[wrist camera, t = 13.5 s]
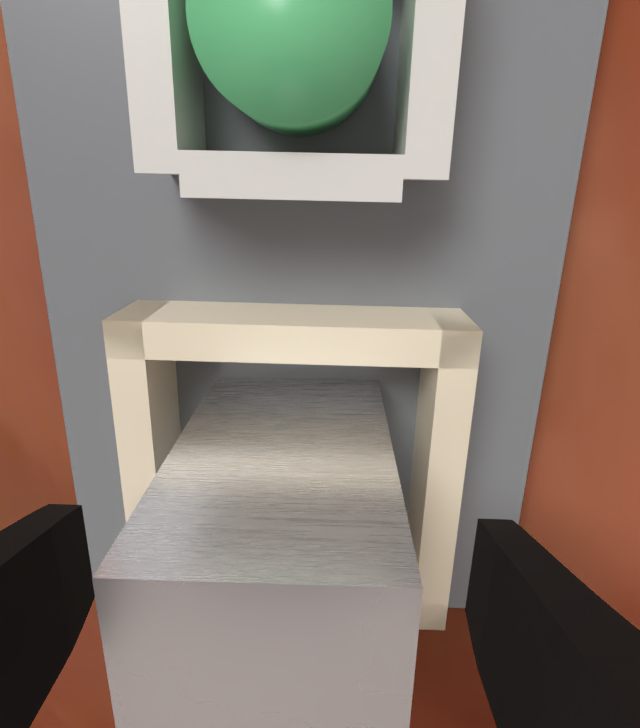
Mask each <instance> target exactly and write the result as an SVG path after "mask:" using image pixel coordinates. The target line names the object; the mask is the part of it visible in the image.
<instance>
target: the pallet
mask: <svg viewBox="0 0 640 728" xmlns="http://www.w3.org/2000/svg"><path fill="white" fill-rule="evenodd" d="M608 2H609V0H392V21H391V29H390V34H389V38H388V42H387V45H386V48H385V51H384V54H383V57H382V60H381V62H380V65H379V68H378V70H377V73H376V76H375V78H374V81H373V84H372V86H371V88H370V90H369V92H368V94H367V96H366V97H365V99H364V100H363V102H362V103H361V105H360V106H359V107H358V108H357V110H356V111H355V112H354V113H353V114H352V115H351V116H350V117H349V118H348V119H346V120H345V121H344V122H342V123H341V124H339V125H338V126H336V127H334V128H332V129H330V130H329V131H326V132H323V133H320V134H316V135H311V136H300V137H297V136H288V135H283V134H279V133H276V132H274V131H271V130H269V129H267V128H265V127H263V126H262V125H260V124H258V123H257V122H256V121H254V120H253V119H252V118H250V117H249V116H248V115H246V114H245V113H244V112H242V111H241V110H240V109H239V108H237V107H236V106H235V105H233V104H232V103H231V102H229V101H228V100H227V99H226V98H225V97H224V96H223V95H222V94H221V93H220V92H219V91H218V90H217V89H216V87H215V86H214V85H213V84H212V82H211V81H210V80H209V78H208V77H207V75H206V73H205V72H204V70H203V69H202V67H201V65H200V63H199V61H198V58H197V56H196V54H195V51H194V48H193V45H192V43H191V39H190V35H189V31H188V26H187V18H186V0H0V3H1V9H2V16H3V22H4V29H5V36H6V42H7V49H8V55H9V62H10V68H11V75H12V81H13V88H14V94H15V101H16V107H17V114H18V120H19V127H20V134H21V140H22V147H23V153H24V160H25V166H26V173H27V179H28V186H29V192H30V199H31V205H32V212H33V218H34V225H35V232H36V238H37V245H38V251H39V258H40V264H41V271H42V277H43V284H44V290H45V297H46V303H47V310H48V317H49V323H50V330H51V336H52V343H53V349H54V356H55V362H56V369H57V375H58V382H59V388H60V395H61V401H62V408H63V415H64V421H65V428H66V434H67V441H68V447H69V454H70V460H71V467H72V473H73V480H74V486H75V493H76V499H77V505H82V510H83V517H84V523H85V530H86V537H87V543H88V550H89V557H90V563H91V570H92V577H93V576H94V574H95V572H96V571H97V569H98V567H99V566H100V564H101V563H102V561H103V559H104V558H105V556H106V555H107V553H108V551H109V550H110V548H111V546H112V545H113V543H114V542H115V540H116V538H117V537H118V535H119V533H120V532H121V530H122V529H123V527H124V525H125V524H126V522H127V520H128V519H129V517H130V516H131V514H132V512H133V511H134V509H135V507H136V506H137V504H138V503H139V501H140V499H141V498H142V496H143V494H144V493H145V491H146V490H147V488H148V486H149V485H150V483H151V482H152V480H153V478H154V477H155V475H156V473H157V472H158V470H159V469H160V467H161V465H162V464H163V462H164V460H165V459H166V457H167V456H168V454H169V452H170V451H171V449H172V447H173V446H174V444H175V443H176V441H177V439H178V438H179V436H180V434H181V433H182V431H183V430H184V428H185V426H186V425H187V423H188V421H189V420H190V418H191V417H192V415H193V413H194V412H195V410H196V408H197V407H198V405H199V404H200V402H201V400H202V399H203V397H204V396H205V394H206V392H207V391H208V389H209V387H210V386H211V384H212V383H213V381H214V379H215V378H216V376H222V377H265V378H308V379H351V380H378V382H379V386H380V391H381V396H382V400H383V405H384V410H385V414H386V419H387V424H388V428H389V433H390V438H391V442H392V447H393V452H394V456H395V461H396V466H397V470H398V475H399V480H400V484H401V489H402V494H403V498H404V503H405V508H406V512H407V517H408V522H409V526H410V531H411V536H412V540H413V545H414V550H415V554H416V559H417V564H418V568H419V573H420V578H421V582H422V587H423V593H422V603H421V613H420V624H419V629H421V630H445V626H446V618H447V610H448V608H465V606H466V599H467V592H468V585H469V578H470V571H471V564H472V557H473V550H474V543H475V536H476V529H477V522H478V518H479V519H508V520H513V521H514V522H516V523H517V524H519V518H520V513H521V507H522V501H523V495H524V489H525V484H526V478H527V472H528V466H529V460H530V455H531V449H532V443H533V437H534V431H535V426H536V420H537V414H538V408H539V403H540V397H541V391H542V385H543V379H544V374H545V368H546V362H547V356H548V350H549V345H550V339H551V333H552V327H553V321H554V316H555V310H556V304H557V298H558V292H559V287H560V281H561V275H562V269H563V263H564V258H565V252H566V246H567V240H568V234H569V229H570V223H571V217H572V211H573V205H574V200H575V194H576V188H577V182H578V176H579V171H580V165H581V159H582V153H583V147H584V142H585V136H586V130H587V124H588V118H589V113H590V107H591V101H592V95H593V89H594V84H595V78H596V72H597V66H598V60H599V55H600V49H601V43H602V37H603V31H604V26H605V20H606V14H607V8H608Z"/></svg>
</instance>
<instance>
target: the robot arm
mask: <svg viewBox="0 0 640 728" xmlns="http://www.w3.org/2000/svg"><path fill="white" fill-rule="evenodd" d="M94 597H95V594H94V588H93V582H92V570H91V563H90V557H89V550H88V543H87V537H86V530H85V523H84V517H83V510H82V505H61V504H48V505H46V506H44V507H42V508H40V509H38V510H36V511H34V512H33V513H31V514H29V515H27V516H25V517H24V518H22V519H20V520H18V521H17V522H15V523H13V524H12V525H10V526H8V527H7V528H5V529H3V530H2V531H0V728H29V727H30V725H31V724H32V722H33V720H34V718H35V717H36V715H37V713H38V711H39V710H40V708H41V706H42V704H43V703H44V701H45V699H46V697H47V695H48V694H49V692H50V690H51V688H52V686H53V685H54V683H55V681H56V679H57V678H58V676H59V674H60V672H61V670H62V669H63V667H64V665H65V663H66V661H67V659H68V658H69V656H70V654H71V652H72V650H73V648H74V646H75V643H76V641H77V639H78V636H79V634H80V632H81V629H82V627H83V625H84V622H85V620H86V617H87V615H88V612H89V610H90V607H91V605H92V602H93V600H94ZM465 611H466V616H467V621H468V626H469V631H470V636H471V641H472V645H473V650H474V654H475V659H476V663H477V667H478V671H479V674H480V677H481V680H482V683H483V686H484V689H485V692H486V695H487V698H488V701H489V705H490V708H491V711H492V714H493V717H494V720H495V723H496V726H497V728H640V630H638V629H637V628H636V627H635V626H633V625H632V624H631V623H630V622H628V621H627V620H626V619H625V618H624V617H622V616H621V615H620V614H619V613H618V612H616V611H615V610H614V609H613V608H612V607H610V606H609V605H608V604H607V603H606V602H604V601H603V600H602V599H601V598H600V597H599V596H597V595H596V594H595V593H594V592H593V591H592V590H591V589H589V588H588V587H587V586H586V585H585V584H584V583H583V582H581V581H580V580H579V579H578V578H577V577H576V576H575V575H574V574H572V573H571V572H570V571H569V570H568V569H567V568H566V567H565V566H563V565H562V564H561V563H560V562H559V561H558V560H557V559H556V558H555V557H554V556H552V555H551V554H550V553H549V552H548V551H547V550H546V549H545V548H544V547H543V546H541V545H540V544H539V543H538V542H537V541H536V540H535V539H534V538H533V537H532V536H530V535H529V534H528V533H527V532H526V531H525V530H524V529H523V528H521V527H520V526H519V525H518V524H517V523H516V522H514V521H513V520H508V519H479V518H478V522H477V529H476V536H475V543H474V550H473V557H472V564H471V571H470V578H469V585H468V592H467V599H466V606H465Z"/></svg>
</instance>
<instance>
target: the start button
mask: <svg viewBox="0 0 640 728" xmlns="http://www.w3.org/2000/svg"><path fill="white" fill-rule="evenodd" d="M186 18H187V26H188V31H189V35H190V39H191V43H192V45H193V48H194V51H195V54H196V56H197V58H198V61H199V63H200V65H201V67H202V69H203V70H204V72H205V73H206V75H207V77H208V78H209V80H210V81H211V82H212V84H213V85H214V86H215V87H216V89H217V90H218V91H219V92H220V93H221V94H222V95H223V96H224V97H225V98H226V99H227V100H228V101H229V102H231V103H232V104H233V105H235V106H236V107H237V108H239V109H240V110H241V111H242V112H244V113H245V114H246V115H248V116H249V117H250V118H252V119H253V120H254V121H256V122H257V123H258V124H260V125H262V126H263V127H265V128H267V129H269V130H271V131H274V132H276V133H279V134H283V135H288V136H297V137H300V136H311V135H316V134H320V133H323V132H326V131H329V130H330V129H332V128H334V127H336V126H338V125H339V124H341V123H342V122H344V121H345V120H346V119H348V118H349V117H350V116H351V115H352V114H353V113H354V112H355V111H356V110H357V108H358V107H359V106H360V105H361V103H362V102H363V100H364V99H365V97H366V96H367V94H368V92H369V90H370V88H371V86H372V84H373V81H374V78H375V76H376V73H377V70H378V68H379V65H380V62H381V60H382V57H383V54H384V51H385V48H386V45H387V42H388V38H389V34H390V29H391V21H392V0H186Z"/></svg>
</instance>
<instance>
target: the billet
mask: <svg viewBox="0 0 640 728" xmlns="http://www.w3.org/2000/svg"><path fill="white" fill-rule="evenodd" d="M92 582H93V588H94V594H95V601H96V607H97V613H98V620H99V626H100V632H101V638H102V645H103V651H104V657H105V664H106V670H107V676H108V683H109V689H110V695H111V701H112V708H113V714H114V720H115V727H116V728H409V726H410V716H411V706H412V695H413V685H414V675H415V665H416V654H417V644H418V634H419V624H420V613H421V603H422V593H423V587H422V582H421V578H420V573H419V568H418V564H417V559H416V554H415V550H414V545H413V540H412V536H411V531H410V526H409V522H408V517H407V512H406V508H405V503H404V498H403V494H402V489H401V484H400V480H399V475H398V470H397V466H396V461H395V456H394V452H393V447H392V442H391V438H390V433H389V428H388V424H387V419H386V414H385V410H384V405H383V400H382V396H381V391H380V386H379V382H378V380H351V379H308V378H265V377H222V376H216V378H215V379H214V381H213V383H212V384H211V386H210V387H209V389H208V391H207V392H206V394H205V396H204V397H203V399H202V400H201V402H200V404H199V405H198V407H197V408H196V410H195V412H194V413H193V415H192V417H191V418H190V420H189V421H188V423H187V425H186V426H185V428H184V430H183V431H182V433H181V434H180V436H179V438H178V439H177V441H176V443H175V444H174V446H173V447H172V449H171V451H170V452H169V454H168V456H167V457H166V459H165V460H164V462H163V464H162V465H161V467H160V469H159V470H158V472H157V473H156V475H155V477H154V478H153V480H152V482H151V483H150V485H149V486H148V488H147V490H146V491H145V493H144V494H143V496H142V498H141V499H140V501H139V503H138V504H137V506H136V507H135V509H134V511H133V512H132V514H131V516H130V517H129V519H128V520H127V522H126V524H125V525H124V527H123V529H122V530H121V532H120V533H119V535H118V537H117V538H116V540H115V542H114V543H113V545H112V546H111V548H110V550H109V551H108V553H107V555H106V556H105V558H104V559H103V561H102V563H101V564H100V566H99V567H98V569H97V571H96V572H95V574H94V576H93V577H92Z"/></svg>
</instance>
